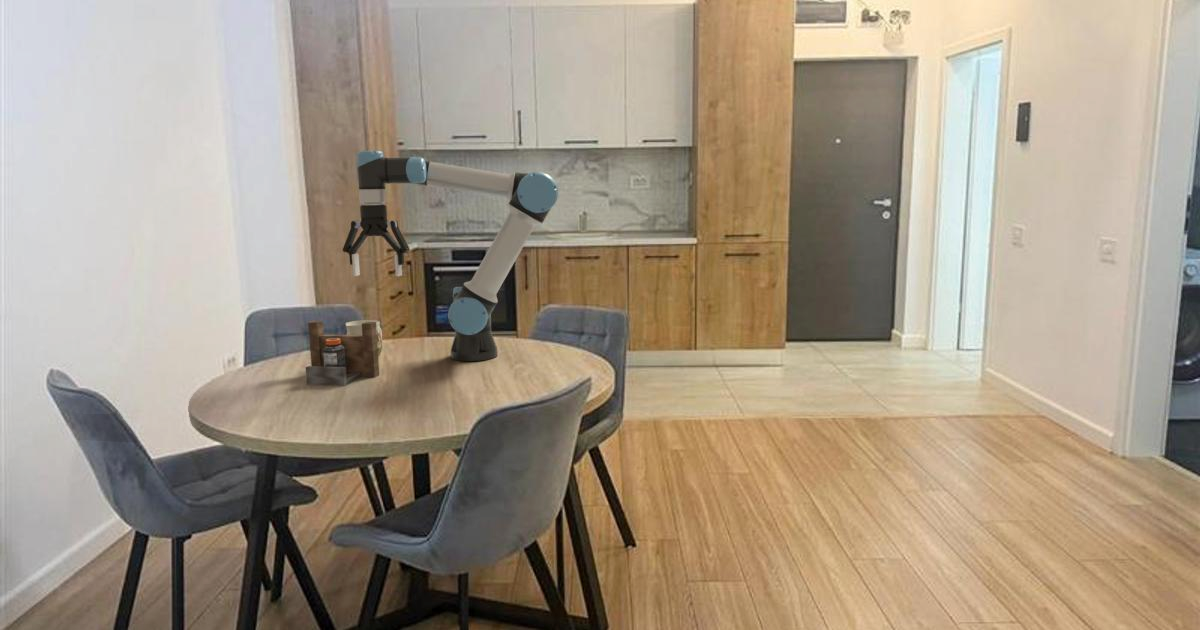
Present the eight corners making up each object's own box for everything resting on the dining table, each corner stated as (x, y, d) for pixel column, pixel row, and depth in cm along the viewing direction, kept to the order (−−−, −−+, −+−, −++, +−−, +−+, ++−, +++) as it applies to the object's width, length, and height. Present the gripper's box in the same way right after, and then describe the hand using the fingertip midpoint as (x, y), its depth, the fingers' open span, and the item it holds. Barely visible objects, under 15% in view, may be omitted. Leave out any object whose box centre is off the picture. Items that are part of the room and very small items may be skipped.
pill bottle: (341, 373, 230) (338, 336, 229) (350, 376, 226) (347, 338, 224) (321, 377, 226) (318, 339, 224) (330, 380, 222) (327, 341, 220)
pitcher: (397, 357, 254) (394, 316, 252) (366, 370, 237) (363, 326, 235) (367, 356, 257) (364, 315, 255) (335, 368, 240) (332, 325, 238)
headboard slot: (379, 374, 231) (375, 321, 229) (358, 386, 219) (354, 330, 216) (317, 372, 235) (313, 320, 232) (293, 383, 222) (288, 328, 220)
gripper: (418, 203, 231) (421, 274, 235) (340, 204, 236) (345, 274, 240) (407, 204, 224) (411, 277, 228) (327, 205, 229) (332, 277, 232)
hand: (377, 275), depth 234 cm, fingers open, 13 cm apart
